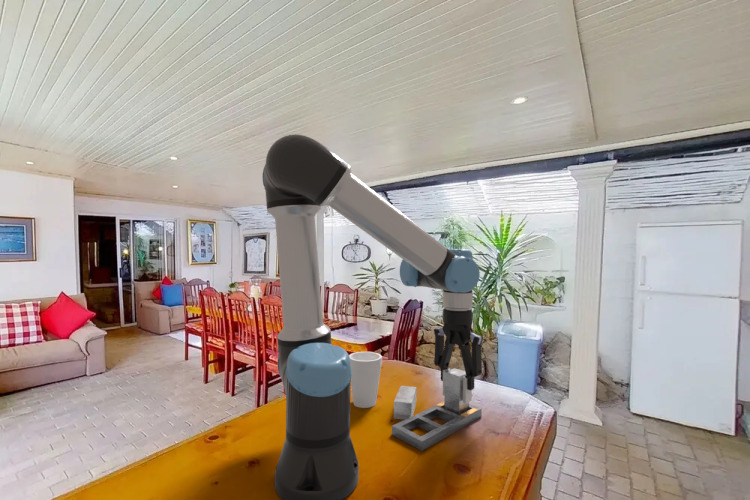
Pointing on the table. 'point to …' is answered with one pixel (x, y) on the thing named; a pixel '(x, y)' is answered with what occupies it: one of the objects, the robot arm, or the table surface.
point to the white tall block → (454, 392)
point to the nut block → (405, 402)
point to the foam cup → (365, 378)
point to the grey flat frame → (433, 425)
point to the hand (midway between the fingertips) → (456, 397)
